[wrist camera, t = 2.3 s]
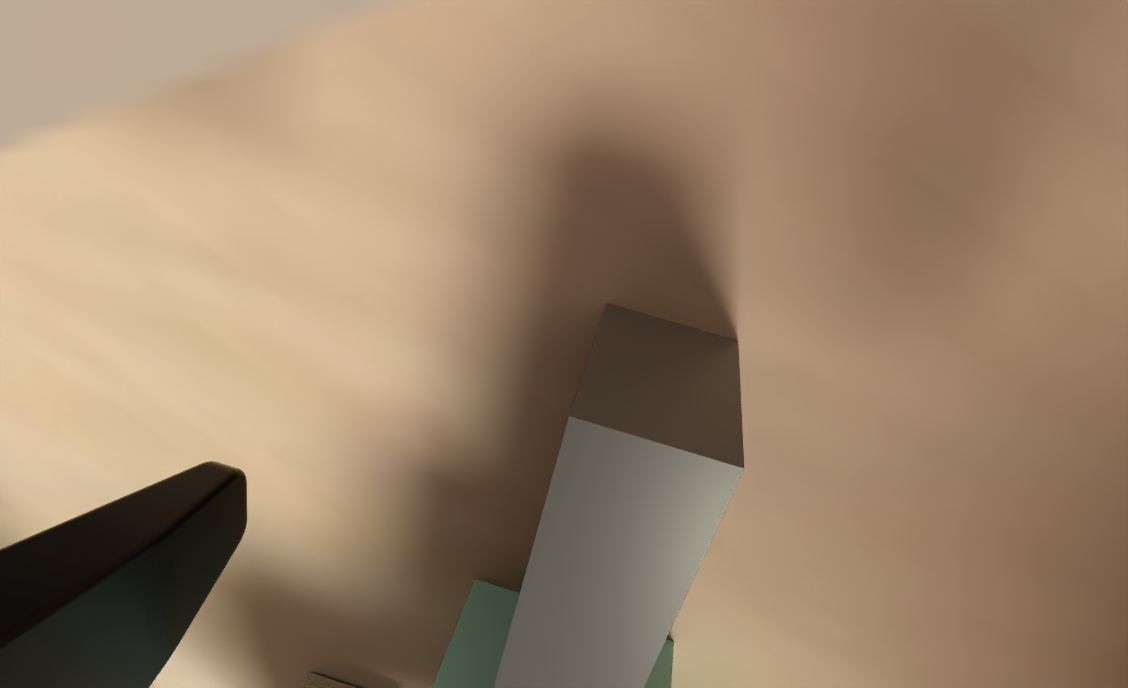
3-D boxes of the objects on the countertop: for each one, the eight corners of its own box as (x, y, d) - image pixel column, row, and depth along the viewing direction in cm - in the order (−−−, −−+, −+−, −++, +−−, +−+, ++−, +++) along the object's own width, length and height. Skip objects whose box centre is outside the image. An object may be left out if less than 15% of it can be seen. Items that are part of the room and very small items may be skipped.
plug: (805, 360, 10) (839, 527, 7) (614, 768, 16) (590, 958, 13) (541, 284, 11) (469, 414, 8) (444, 712, 16) (380, 886, 13)
